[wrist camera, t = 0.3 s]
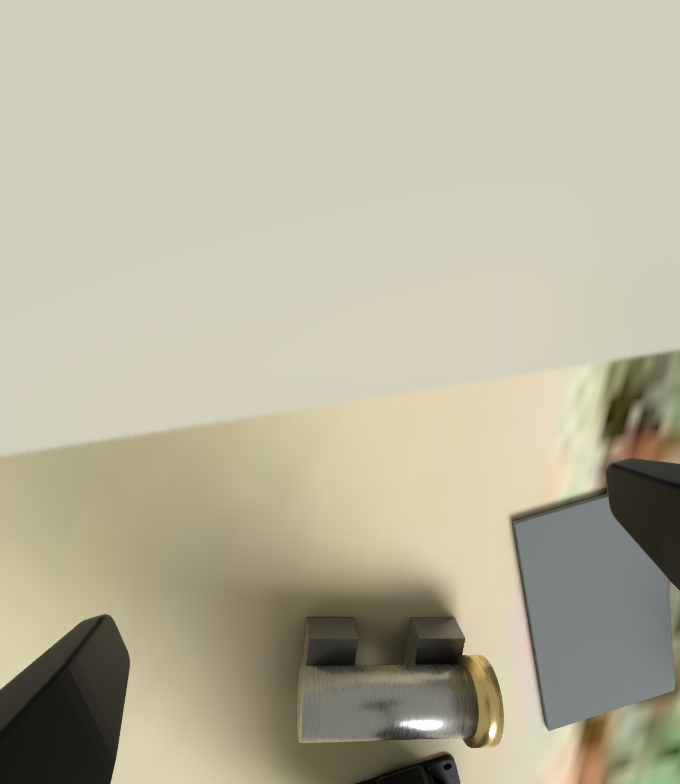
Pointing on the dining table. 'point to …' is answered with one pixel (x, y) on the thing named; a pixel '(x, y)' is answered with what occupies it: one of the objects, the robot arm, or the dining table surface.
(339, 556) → the dining table surface
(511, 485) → the dining table surface
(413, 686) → the shaft
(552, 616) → the seat mat
